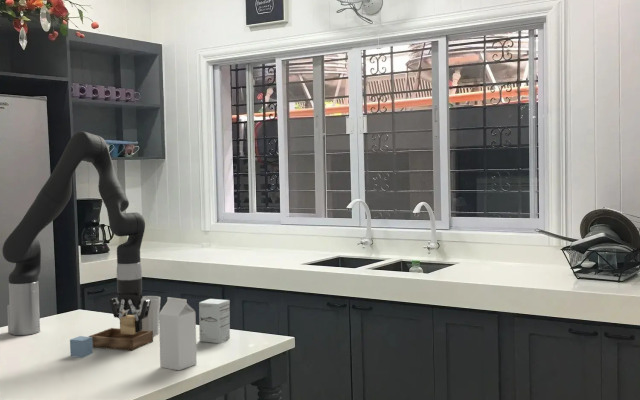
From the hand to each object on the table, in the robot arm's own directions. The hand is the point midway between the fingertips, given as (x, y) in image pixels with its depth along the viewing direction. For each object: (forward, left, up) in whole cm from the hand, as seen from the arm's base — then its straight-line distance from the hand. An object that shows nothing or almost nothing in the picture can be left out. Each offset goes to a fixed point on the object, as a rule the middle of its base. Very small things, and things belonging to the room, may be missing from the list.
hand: (131, 331), depth 221 cm
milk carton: (+26, -16, -5) cm, 31 cm away
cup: (-3, +14, -5) cm, 15 cm away
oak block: (0, 0, 0) cm, 0 cm away
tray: (-4, 0, -4) cm, 6 cm away
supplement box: (+22, +13, -5) cm, 26 cm away
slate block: (-8, -14, -4) cm, 17 cm away
